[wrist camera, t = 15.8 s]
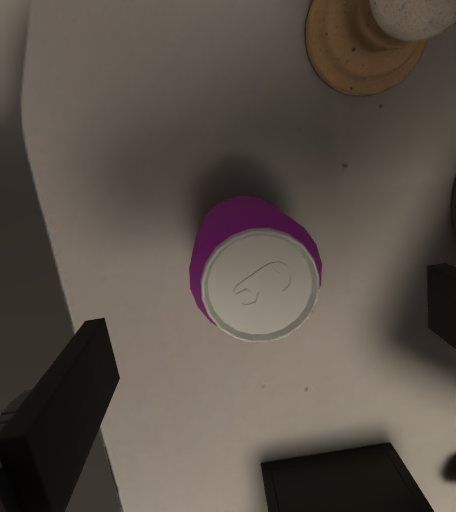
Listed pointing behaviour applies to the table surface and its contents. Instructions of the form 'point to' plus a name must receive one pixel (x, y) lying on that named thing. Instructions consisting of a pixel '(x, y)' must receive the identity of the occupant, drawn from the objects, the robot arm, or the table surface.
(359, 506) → the black open box
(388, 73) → the candle holder
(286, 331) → the beverage can
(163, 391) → the table surface
